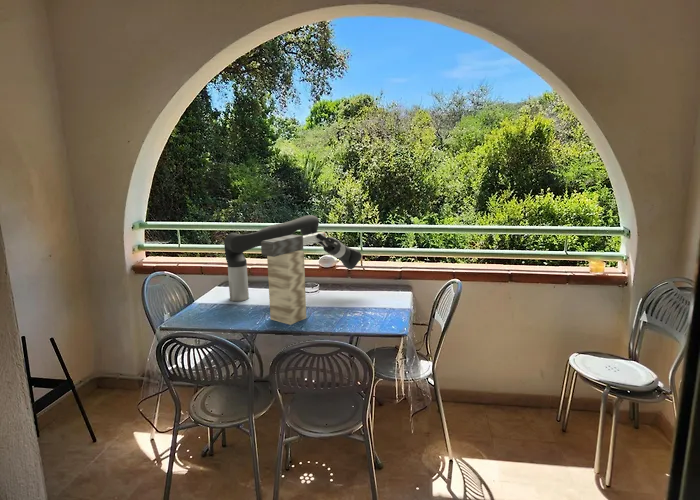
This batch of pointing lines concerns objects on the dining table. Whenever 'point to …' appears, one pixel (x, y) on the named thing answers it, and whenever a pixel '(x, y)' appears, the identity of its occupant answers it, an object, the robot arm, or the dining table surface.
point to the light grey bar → (312, 238)
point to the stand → (286, 278)
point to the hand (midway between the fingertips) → (314, 235)
